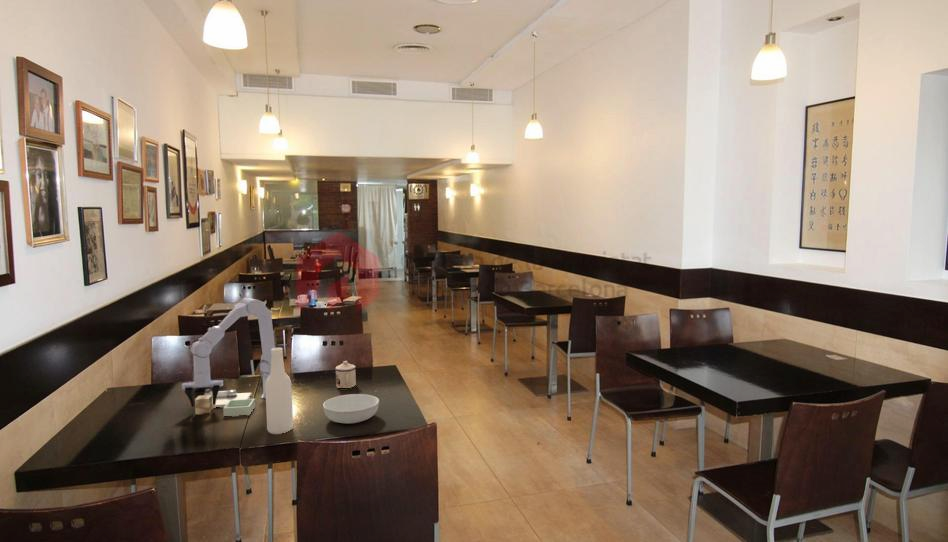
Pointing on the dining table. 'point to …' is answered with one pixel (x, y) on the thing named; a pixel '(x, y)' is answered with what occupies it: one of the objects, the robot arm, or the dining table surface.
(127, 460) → the dining table surface
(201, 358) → the robot arm
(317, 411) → the dining table surface
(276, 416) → the alcohol
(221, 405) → the crank board
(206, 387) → the supplement bottle
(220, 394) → the crank arm
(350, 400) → the serving bowl
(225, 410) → the tray
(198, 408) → the block
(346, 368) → the teacup with lid
